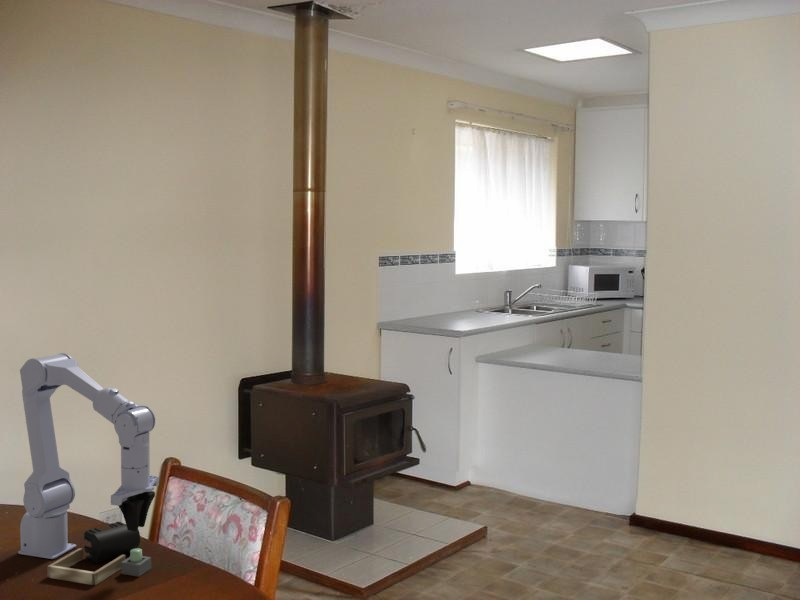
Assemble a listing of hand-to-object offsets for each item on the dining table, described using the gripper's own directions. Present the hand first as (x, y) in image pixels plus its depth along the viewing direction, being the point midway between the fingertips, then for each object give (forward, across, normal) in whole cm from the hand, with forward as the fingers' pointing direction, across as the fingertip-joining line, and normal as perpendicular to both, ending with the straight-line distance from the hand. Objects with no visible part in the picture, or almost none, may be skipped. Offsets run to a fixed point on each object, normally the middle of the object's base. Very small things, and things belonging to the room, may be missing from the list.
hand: (135, 528), depth 181 cm
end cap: (+10, +5, +10) cm, 14 cm away
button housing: (+9, 0, 0) cm, 9 cm away
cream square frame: (+9, -4, +9) cm, 14 cm away
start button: (+8, 0, 0) cm, 8 cm away
